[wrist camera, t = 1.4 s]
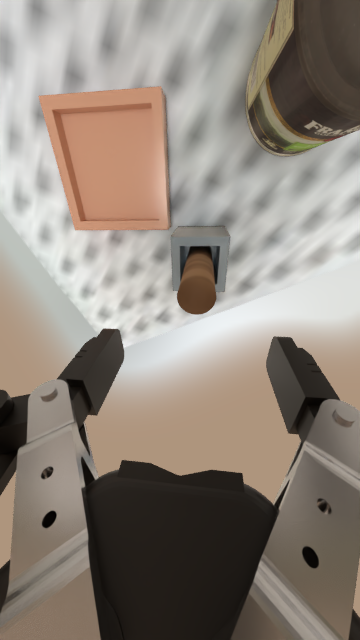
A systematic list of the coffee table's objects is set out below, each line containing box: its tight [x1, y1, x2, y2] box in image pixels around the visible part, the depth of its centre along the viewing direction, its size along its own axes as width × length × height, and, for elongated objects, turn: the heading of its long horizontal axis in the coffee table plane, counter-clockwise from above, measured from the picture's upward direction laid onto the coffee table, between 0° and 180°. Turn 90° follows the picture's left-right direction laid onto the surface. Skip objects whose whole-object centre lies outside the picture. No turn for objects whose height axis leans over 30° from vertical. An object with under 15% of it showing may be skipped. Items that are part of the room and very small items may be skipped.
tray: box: [39, 87, 171, 230], centre depth 23 cm, size 12×12×2 cm
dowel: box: [177, 246, 216, 314], centre depth 22 cm, size 3×3×14 cm
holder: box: [171, 226, 230, 292], centre depth 25 cm, size 6×6×7 cm
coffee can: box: [246, 0, 360, 156], centre depth 13 cm, size 10×10×14 cm
